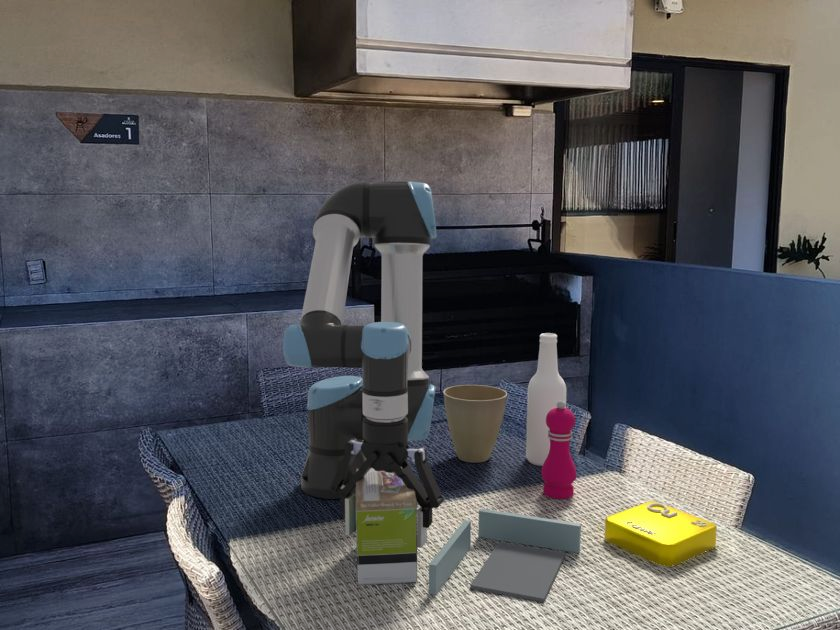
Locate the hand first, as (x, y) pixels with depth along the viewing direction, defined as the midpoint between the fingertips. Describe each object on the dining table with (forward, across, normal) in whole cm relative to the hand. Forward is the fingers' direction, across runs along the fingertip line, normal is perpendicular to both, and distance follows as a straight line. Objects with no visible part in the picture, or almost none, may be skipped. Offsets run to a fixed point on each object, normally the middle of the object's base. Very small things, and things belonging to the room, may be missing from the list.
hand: (385, 538), depth 139 cm
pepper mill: (+5, +21, +42) cm, 47 cm away
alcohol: (+5, +14, +61) cm, 63 cm away
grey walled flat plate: (+5, +20, +5) cm, 21 cm away
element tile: (+5, +43, +26) cm, 50 cm away
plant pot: (+5, -2, +57) cm, 57 cm away
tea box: (+5, 0, 0) cm, 5 cm away
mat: (+5, +22, +6) cm, 23 cm away
